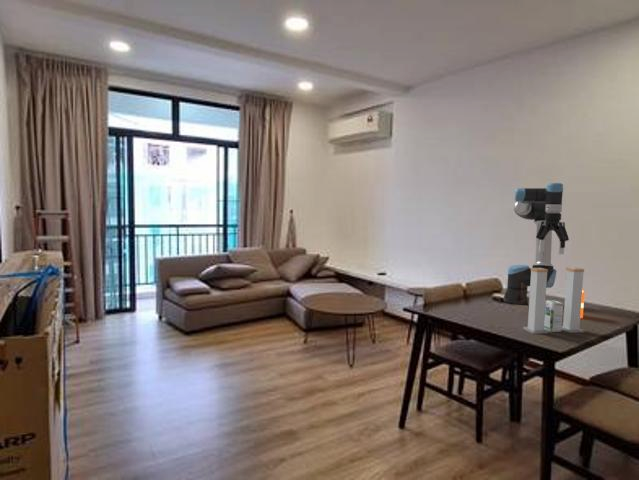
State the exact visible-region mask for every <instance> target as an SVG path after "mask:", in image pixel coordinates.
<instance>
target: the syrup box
mask: <svg viewBox="0 0 639 480" xmlns="http://www.w3.org/2000/svg"><path fill="white" fill-rule="evenodd" d="M563 315H564V303H563V302H560V301H557V300H554V299H553V300H552V299H551V300H550V299H549V300H548V299H547V300H545V315H544V329H545V330H547V331H548V332H550V333H552V332H553V333H557V332H562V329H561V327H562V326H563Z"/></svg>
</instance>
